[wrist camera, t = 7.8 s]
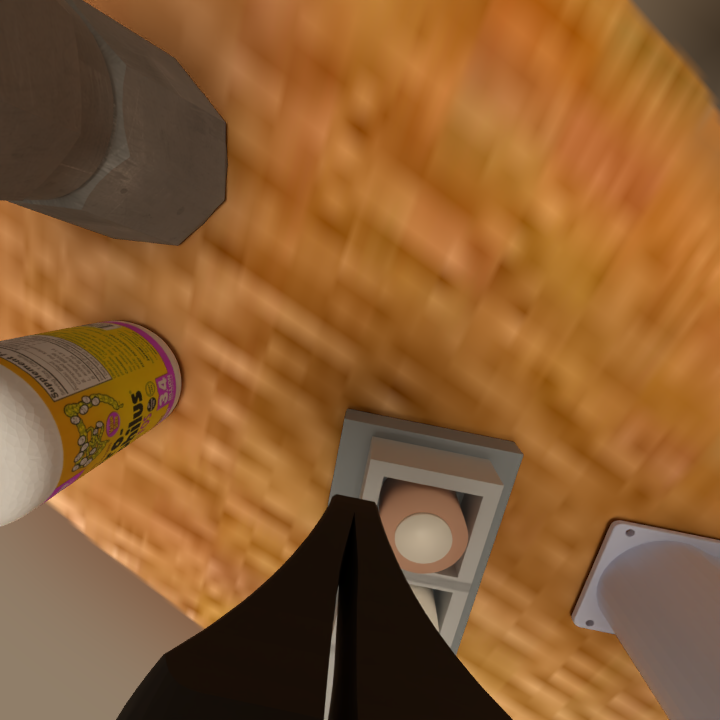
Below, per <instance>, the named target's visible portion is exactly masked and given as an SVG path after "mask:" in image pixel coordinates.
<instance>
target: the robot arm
mask: <svg viewBox="0 0 720 720" xmlns="http://www.w3.org/2000/svg"><path fill="white" fill-rule="evenodd" d="M629 529H630V530H629ZM627 530H629V531H628V532H626V531H627ZM338 586H339V590H338ZM337 590H338V607H337V625H336V642H335V660H334V674H333V685H332V693H331V701H330V708H329V716H328V720H512V719H511V717H510V716H509V715H508V714H507V713H506V712H505V711H504V710H503V709H502V708H501V707H500V706H499V705H498V704H497V703H496V702H495V700H494V699H493V698H492V697H491V696H490V695H489V694H488V693H487V692H486V691H485V690H484V689H483V688H482V687H481V685H480V684H479V683H478V682H477V681H476V680H475V678H474V677H473V676H472V675H471V674H470V672H469V671H468V670H467V669H466V668H465V666H464V665H463V664H462V663H461V662H460V660H459V659H458V658H457V657H456V655H455V654H454V652H453V651H452V650H451V648H450V647H449V646H448V644H447V643H446V642H445V640H444V639H443V638H442V636H441V635H440V634H439V632H438V631H437V629H436V628H435V626H434V625H433V623H432V622H431V620H430V619H429V617H428V616H427V614H426V613H425V611H424V609H423V608H422V606H421V604H420V603H419V601H418V600H417V598H416V596H415V594H414V593H413V591H412V589H411V587H410V585H409V583H408V582H407V580H406V578H405V576H404V574H403V572H402V570H401V568H400V566H399V563H398V561H397V559H396V557H395V555H394V552H393V550H392V547H391V545H390V543H389V540H388V538H387V535H386V533H385V530H384V527H383V524H382V521H381V518H380V515H379V511H378V507H377V505H376V503H375V502H373V501H368V500H363V499H359V498H354V497H349V496H344V495H339V494H336V495H334V496H332V499H331V501H330V503H329V505H328V507H327V509H326V511H325V513H324V514H323V516H322V517H321V519H320V520H319V522H318V523H317V525H316V526H315V527H314V529H313V530H312V531H311V533H310V534H309V536H308V537H307V538H306V539H305V541H304V542H303V543H302V544H301V545H300V546H299V548H298V549H297V550H296V551H295V552H294V554H293V555H292V556H291V557H290V558H289V559H288V560H287V561H286V562H285V563H284V564H283V565H282V566H281V568H280V569H278V570H277V571H276V572H275V573H274V574H273V575H272V576H271V577H270V578H269V579H268V580H267V581H266V582H265V583H264V584H262V585H261V586H260V587H259V588H258V589H257V590H256V591H255V592H253V593H252V594H251V595H250V596H249V597H247V598H246V599H245V600H244V601H243V602H241V603H240V604H239V605H237V606H236V607H235V608H233V609H232V610H231V611H229V612H228V613H226V614H225V615H224V616H222V617H221V618H220V619H218V620H217V621H216V622H214V623H213V624H211V625H210V626H209V627H207V628H206V629H204V630H203V631H201V632H199V633H198V634H196V635H195V636H193V637H191V638H190V639H188V640H187V641H185V642H183V643H182V644H180V645H179V646H177V647H175V648H174V649H172V650H170V651H169V652H167V653H165V654H164V655H163V656H162V657H161V658H160V660H159V661H158V662H157V663H156V664H155V666H154V667H153V668H152V669H151V671H150V672H149V673H148V674H147V676H146V677H145V678H144V680H143V681H142V682H141V684H140V685H139V686H138V688H137V689H136V691H135V692H134V693H133V695H132V696H131V698H130V699H129V700H128V702H127V703H126V705H125V706H124V708H123V710H122V711H121V713H120V714H119V716H118V718H117V719H116V720H324V713H325V701H326V690H327V679H328V669H329V658H330V649H331V639H332V630H333V621H334V612H335V604H336V595H337ZM571 618H572V620H573V622H574V624H575V625H576V626H578V627H582V628H587V629H592V630H597V631H602V632H607V633H611V634H616V636H617V638H618V639H619V641H620V642H621V644H622V645H623V647H624V649H625V650H626V652H627V653H628V655H629V656H630V658H631V660H632V661H633V663H634V664H635V666H636V668H637V669H638V671H639V672H640V674H641V675H642V677H643V679H644V680H645V682H646V683H647V685H648V686H649V688H650V690H651V691H652V693H653V694H654V696H655V697H656V699H657V701H658V702H659V704H660V705H661V707H662V708H663V710H664V712H665V713H666V715H667V716H668V718H669V720H720V540H716V539H711V538H706V537H701V536H696V535H691V534H686V533H681V532H676V531H671V530H666V529H661V528H656V527H651V526H647V525H642V524H637V523H632V522H627V521H622V520H617V521H614V522H613V523H612V524H611V525H610V527H609V529H608V532H607V534H606V536H605V539H604V541H603V543H602V546H601V548H600V550H599V553H598V555H597V557H596V560H595V562H594V564H593V567H592V569H591V571H590V574H589V576H588V578H587V581H586V583H585V585H584V588H583V590H582V592H581V595H580V597H579V599H578V602H577V604H576V606H575V609H574V611H573V613H572V617H571Z"/></svg>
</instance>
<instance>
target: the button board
mask: <svg viewBox="0 0 720 720" xmlns="http://www.w3.org/2000/svg"><path fill="white" fill-rule="evenodd" d="M522 458H523V453H522V452H521V451H520V449H519V448H518V447H517V445H516V444H515V443H514V442H512V441H507V440H502V439H497V438H492V437H487V436H482V435H477V434H472V433H467V432H462V431H457V430H452V429H447V428H442V427H437V426H432V425H427V424H422V423H417V422H412V421H407V420H402V419H397V418H392V417H387V416H382V415H377V414H372V413H367V412H362V411H357V410H352V409H347V411H346V415H345V419H344V424H343V429H342V434H341V440H340V445H339V450H338V455H337V460H336V466H335V471H334V476H333V481H332V486H331V492H330V497H329V502H328V505H329V503H330V501H331V499H332V496H334V495H336V494H339V495H344V496H349V497H354V498H359V499H363V500H368V501H373V502H375V503H376V505H377V507H378V511H379V495H380V490H381V487H382V485H383V483H384V482H385V480H386V479H387V478H388V477H389V478H394V479H399V480H403V481H408V482H413V483H418V484H423V485H428V486H433V487H438V488H443V489H448V490H453V491H455V492H456V495H457V498H458V501H459V504H460V507H461V510H462V513H463V516H464V519H465V523H466V526H467V530H468V543H467V547H466V549H465V551H464V553H463V555H462V556H461V557H460V559H459V560H458V561H457V562H456V563H454V564H453V565H452V566H450V567H448V568H446V569H444V570H442V571H439V572H435V573H427V574H420V573H413V572H409V571H406V570H403V569H401V570H402V572H403V574H404V576H405V578H406V580H407V582H408V583H409V584H413V585H417V586H422V587H427V588H432V589H433V593H434V600H435V606H436V613H437V619H438V626H439V634H440V635H441V636H442V638H443V639H444V640H445V642H446V643H447V644H448V646H449V647H450V648H451V650H452V651H453V652H454V654H455V655H456V653H457V650H458V648H459V645H460V642H461V639H462V636H463V633H464V630H465V627H466V624H467V621H468V618H469V615H470V612H471V609H472V606H473V603H474V600H475V597H476V594H477V591H478V588H479V585H480V582H481V579H482V576H483V573H484V570H485V567H486V564H487V561H488V558H489V556H490V553H491V550H492V547H493V544H494V541H495V538H496V535H497V532H498V529H499V526H500V523H501V520H502V517H503V514H504V511H505V508H506V505H507V502H508V499H509V496H510V493H511V490H512V487H513V484H514V481H515V478H516V475H517V472H518V469H519V466H520V463H521V461H522ZM338 590H339V586H338ZM338 590H337V595H336V604H335V612H334V621H333V630H332V639H331V649H330V658H329V669H328V679H327V690H326V701H325V713H324V720H328V716H329V708H330V701H331V693H332V685H333V674H334V660H335V642H336V625H337V607H338Z"/></svg>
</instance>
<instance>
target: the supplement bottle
mask: <svg viewBox="0 0 720 720" xmlns="http://www.w3.org/2000/svg"><path fill="white" fill-rule="evenodd" d="M180 392H181V373H180V369H179V365H178V362H177V360H176V358H175V356H174V354H173V353H172V351H171V350H170V348H169V347H168V346H167V344H166V343H165V342H164V341H163V340H162V339H161V338H160V337H159V336H157V335H156V334H154V333H153V332H151V331H150V330H148V329H146V328H144V327H142V326H140V325H137V324H134V323H130V322H125V321H106V322H99V323H93V324H88V325H82V326H77V327H72V328H66V329H61V330H56V331H50V332H45V333H40V334H35V335H30V336H24V337H19V338H14V339H9V340H4V341H0V526H3V525H6V524H9V523H11V522H13V521H16V520H18V519H20V518H22V517H23V516H25V515H27V514H28V513H30V512H31V511H33V510H34V509H36V508H37V507H39V506H40V505H41V504H43V503H44V502H46V501H47V500H49V499H50V498H52V497H53V496H54V495H56V494H57V493H59V492H60V491H61V490H63V489H64V488H66V487H67V486H69V485H70V484H72V483H73V482H75V481H76V480H78V479H79V478H81V477H82V476H84V475H85V474H86V473H88V472H89V471H91V470H92V469H94V468H95V467H97V466H98V465H100V464H101V463H103V462H104V461H106V460H107V459H108V458H110V457H111V456H113V455H114V454H116V453H117V452H118V451H120V450H121V449H123V448H124V447H126V446H127V445H129V444H130V443H132V442H133V441H135V440H136V439H138V438H139V437H140V436H142V435H143V434H145V433H146V432H148V431H149V430H151V429H152V428H154V427H155V426H156V425H158V424H159V423H160V422H162V421H163V420H164V419H166V418H167V417H168V416H169V414H170V413H171V412H172V411H173V409H174V408H175V406H176V404H177V402H178V399H179V396H180Z"/></svg>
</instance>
